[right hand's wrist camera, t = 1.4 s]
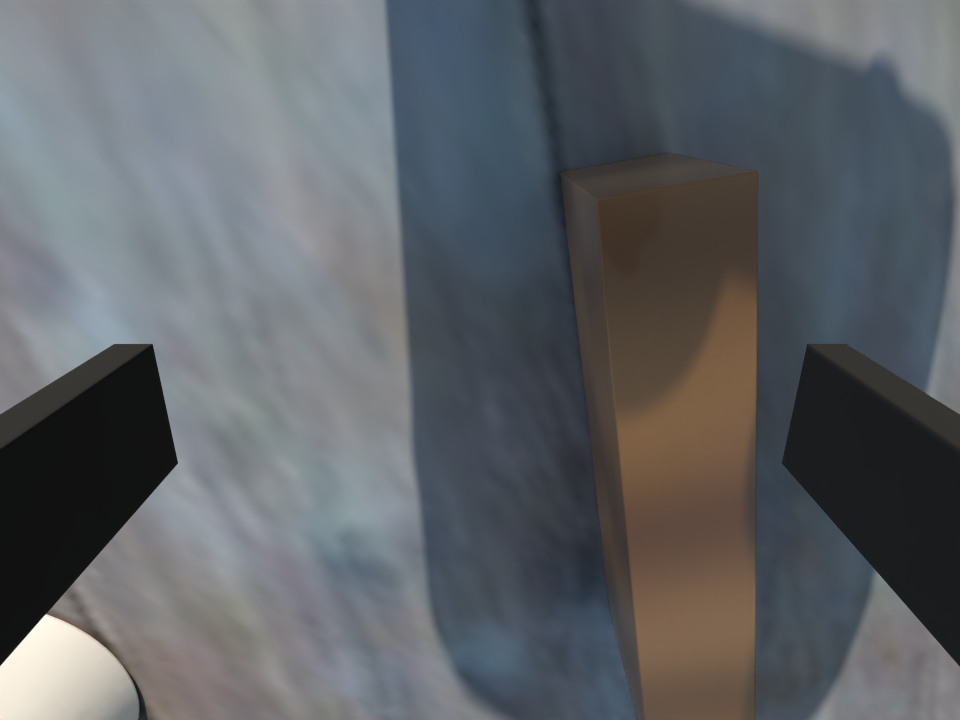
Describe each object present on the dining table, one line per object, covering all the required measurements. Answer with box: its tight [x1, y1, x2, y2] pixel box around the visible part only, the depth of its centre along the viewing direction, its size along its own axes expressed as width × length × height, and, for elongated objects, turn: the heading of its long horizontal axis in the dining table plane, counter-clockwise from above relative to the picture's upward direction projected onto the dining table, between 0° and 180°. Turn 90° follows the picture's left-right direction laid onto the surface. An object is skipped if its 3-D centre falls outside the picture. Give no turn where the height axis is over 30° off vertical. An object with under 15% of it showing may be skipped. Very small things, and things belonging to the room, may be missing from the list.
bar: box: [560, 153, 758, 720], centre depth 27 cm, size 26×5×9 cm, turn 10°
